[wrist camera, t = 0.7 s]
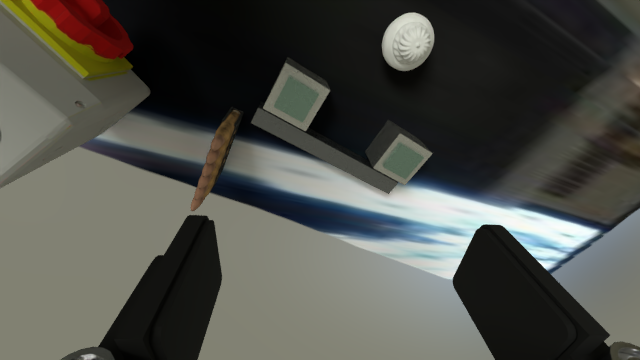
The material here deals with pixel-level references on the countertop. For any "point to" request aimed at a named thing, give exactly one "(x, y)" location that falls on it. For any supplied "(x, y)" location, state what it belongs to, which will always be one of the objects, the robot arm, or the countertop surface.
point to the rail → (293, 126)
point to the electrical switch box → (60, 79)
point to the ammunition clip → (217, 155)
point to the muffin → (407, 41)
